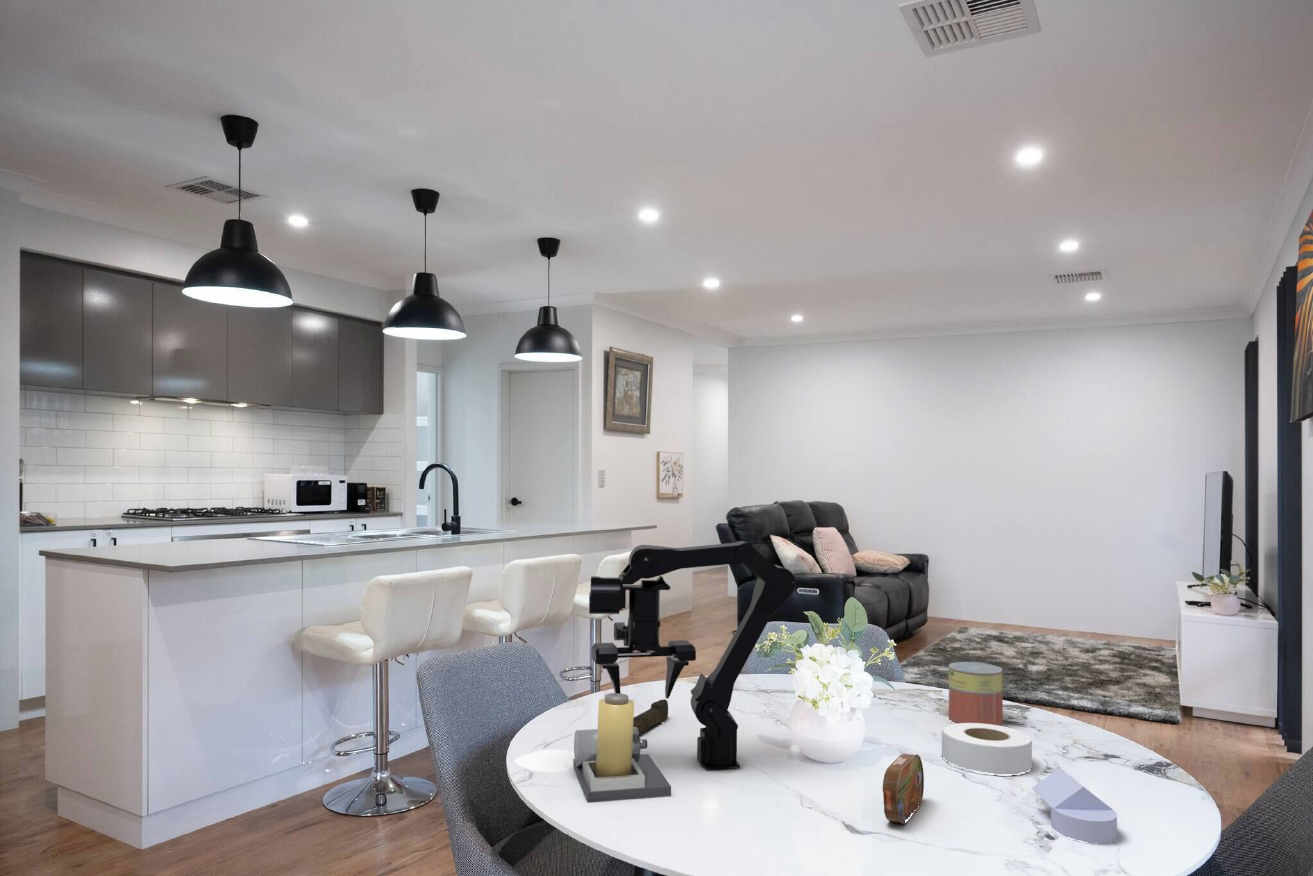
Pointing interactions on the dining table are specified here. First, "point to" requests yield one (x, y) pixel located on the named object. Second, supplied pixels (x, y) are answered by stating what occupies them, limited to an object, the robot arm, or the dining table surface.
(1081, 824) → the wedge on round base
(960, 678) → the canned food
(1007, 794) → the dining table surface
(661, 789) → the motor mount
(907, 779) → the tin
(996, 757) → the roll of tape
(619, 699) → the bottle
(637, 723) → the hand tool
